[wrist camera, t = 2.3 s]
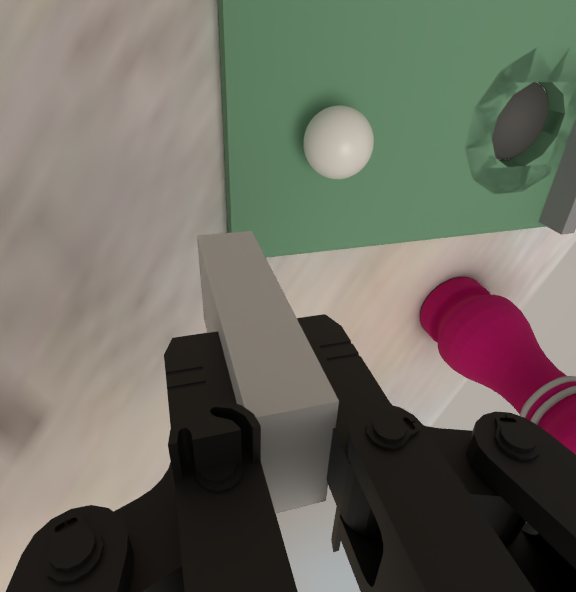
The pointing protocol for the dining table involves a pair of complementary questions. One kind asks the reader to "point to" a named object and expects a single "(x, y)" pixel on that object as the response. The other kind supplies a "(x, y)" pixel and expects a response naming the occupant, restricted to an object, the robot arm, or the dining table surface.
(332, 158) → the ball
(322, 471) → the robot arm
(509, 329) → the pepper mill
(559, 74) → the putting mat
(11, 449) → the dining table surface
